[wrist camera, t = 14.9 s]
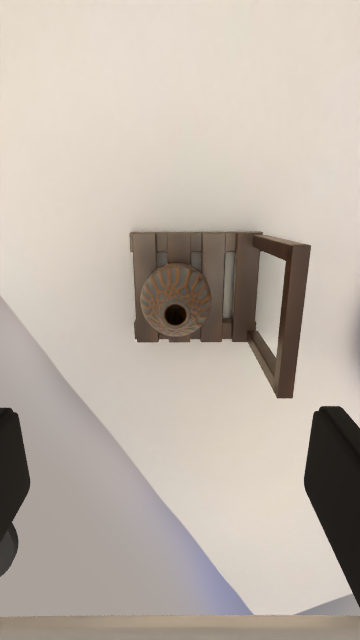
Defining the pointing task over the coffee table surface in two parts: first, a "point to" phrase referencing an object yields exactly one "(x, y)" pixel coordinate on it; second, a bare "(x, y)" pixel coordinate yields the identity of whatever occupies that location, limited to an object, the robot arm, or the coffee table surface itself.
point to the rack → (244, 293)
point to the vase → (176, 299)
